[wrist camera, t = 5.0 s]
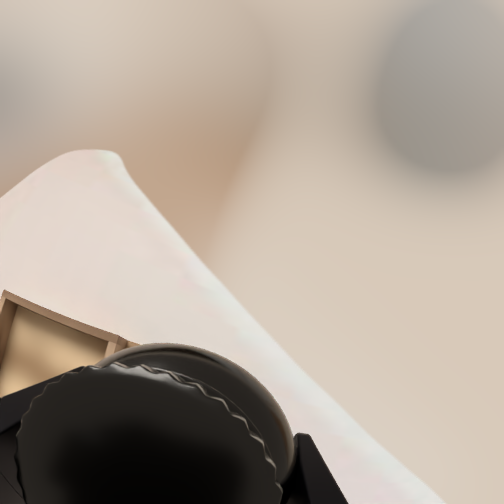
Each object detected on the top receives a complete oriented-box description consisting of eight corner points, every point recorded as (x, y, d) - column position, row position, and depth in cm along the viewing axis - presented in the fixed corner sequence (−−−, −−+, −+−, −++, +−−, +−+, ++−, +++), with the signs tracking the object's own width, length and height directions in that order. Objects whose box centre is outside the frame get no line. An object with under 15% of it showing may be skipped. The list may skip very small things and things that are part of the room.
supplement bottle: (268, 482, 13) (346, 615, 2) (141, 484, 12) (17, 584, 1) (257, 364, 16) (324, 292, 5) (131, 367, 15) (-23, 299, 4)
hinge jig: (103, 577, 11) (91, 591, 8) (-15, 505, 11) (-33, 510, 9) (143, 346, 22) (131, 339, 19) (16, 298, 22) (-3, 286, 19)
